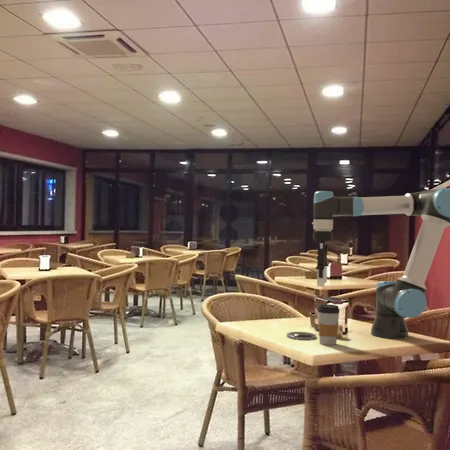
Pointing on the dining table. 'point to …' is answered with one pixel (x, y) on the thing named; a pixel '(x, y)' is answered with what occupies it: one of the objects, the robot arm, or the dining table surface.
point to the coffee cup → (328, 324)
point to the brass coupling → (340, 332)
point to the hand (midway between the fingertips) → (322, 284)
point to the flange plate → (301, 335)
